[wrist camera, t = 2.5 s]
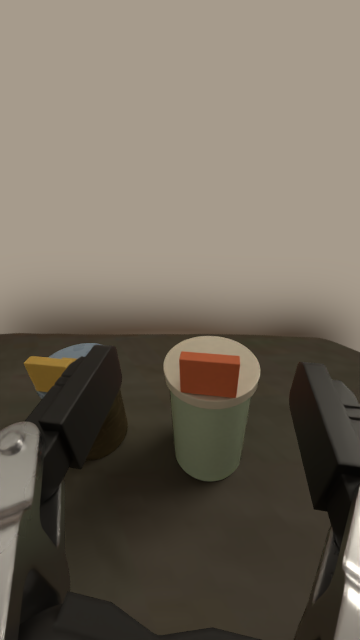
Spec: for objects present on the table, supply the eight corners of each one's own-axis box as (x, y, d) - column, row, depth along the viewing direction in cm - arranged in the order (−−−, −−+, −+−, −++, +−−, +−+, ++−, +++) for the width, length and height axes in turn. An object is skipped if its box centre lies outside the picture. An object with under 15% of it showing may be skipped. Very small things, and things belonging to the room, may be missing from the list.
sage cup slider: (235, 359, 24) (238, 328, 22) (236, 398, 20) (240, 364, 18) (188, 355, 24) (187, 325, 22) (180, 392, 20) (178, 359, 19)
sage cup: (243, 419, 33) (256, 338, 26) (247, 492, 26) (266, 406, 19) (177, 411, 35) (173, 332, 28) (163, 478, 27) (152, 394, 20)
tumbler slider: (96, 363, 27) (89, 336, 25) (75, 395, 23) (65, 367, 21) (62, 360, 28) (52, 334, 26) (36, 391, 24) (22, 363, 22)
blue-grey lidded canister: (139, 408, 35) (128, 345, 30) (116, 469, 28) (96, 402, 23) (83, 401, 37) (62, 340, 31) (48, 458, 30) (13, 392, 24)
